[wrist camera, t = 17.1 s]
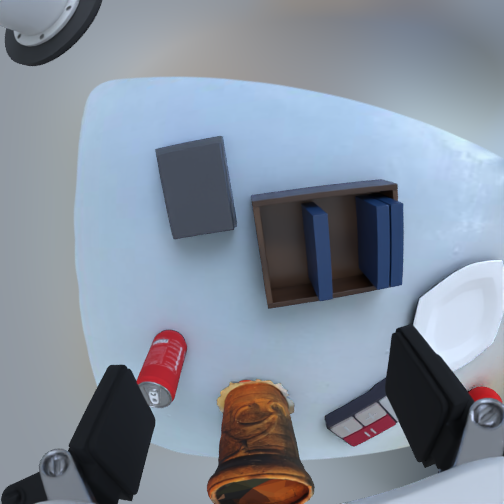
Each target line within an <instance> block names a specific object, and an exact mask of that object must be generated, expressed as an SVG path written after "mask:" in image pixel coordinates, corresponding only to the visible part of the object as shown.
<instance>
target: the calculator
mask: <svg viewBox="0 0 504 504" xmlns="http://www.w3.org/2000/svg"><path fill="white" fill-rule="evenodd" d="M385 382H386V378H385V379H384V380H382V381H381V382H379V383H377V384H376V385H375V386H374V387H373V388H372V390H370V391H369V392H367V393H366V394H364V395H362V396H360V397H359V398H357V399H355V400H354V401H352V402H350V403H348V404H346V405H345V406H343V407H341V408H339V409H337V410H335V411H334V412H332V413H330V414H328V415H326V416H325V420H326V425H327V428H328V429H329V430H330V431H332V432H333V433H334V434H336V435H337V436H338V437H340V438H341V439H343V440H344V441H345V442H347V443H348V444H350V445H351V446H357V445H359V444H361V443H363V442H365V441H366V440H368V439H370V438H372V437H374V436H376V435H378V434H380V433H382V432H383V431H385V430H387V429H389V428H391V427H392V426H394V425H396V423H397V422H399V421H398V419H397V417H396V415H395V412H394V410H393V408H392V406H391V404H390V402H389V400H388V398H387V396H386V393H385Z"/></svg>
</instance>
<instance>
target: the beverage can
mask: <svg viewBox="0 0 504 504" xmlns="http://www.w3.org/2000/svg"><path fill="white" fill-rule="evenodd" d="M186 351H187V345H186V342H185V339H184V337H183V336H182V335H181V334H180V333H178V332H177V331H174V330H164V331H162V332H161V333H159V334H158V335H156V337H155V338H154V341H153V343H152V345H151V348H150V350H149V352H148V355H147V357H146V359H145V362H144V364H143V367H142V369H141V371H140V374H139V376H138V379H137V381H136V382H137V384H138V386H139V388H140V390H141V392H142V394H143V396H144V398H145V400H146V402H147V404H148V405H149V406H151V407H155V408H164V407H167V406H169V405H170V404H171V402H172V401H173V400H174V398H175V394H176V390H177V386H178V382H179V378H180V374H181V370H182V366H183V362H184V358H185V355H186Z"/></svg>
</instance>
